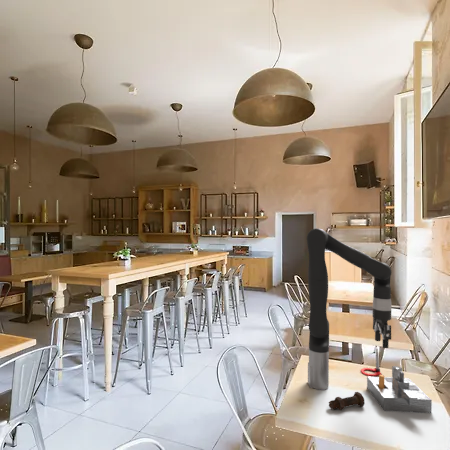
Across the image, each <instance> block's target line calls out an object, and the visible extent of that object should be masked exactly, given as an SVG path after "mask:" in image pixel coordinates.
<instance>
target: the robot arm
mask: <svg viewBox="0 0 450 450" xmlns="http://www.w3.org/2000/svg"><path fill="white" fill-rule="evenodd" d="M306 243H307V244H306V245H307V250H308V251H307V252H308V266H307V267H308V271H307V278H308V279H307V283H308V284H307V287H308V299H309V318H308V319H309V321H308V331H309V336H308V337H309V339H308V362H307V383H308V386H309V388H310V389H311V388H312V389H316V390H318V391H320V390H328V388H329V383H330V381H329V379H330V378H329V377H330V376H329V369H330V368H329V367H330V365H329V362H330V322H329V319H328V315H327V304H328V295H329V274H328V268H327V263H326V258H325V257H326V256H325V255H326V250H327V251H329V252H332V253H334V254H335V255H337V256H338V257H340V258H342V259H343V260H345V261H346V262H348V263H349V264H351V265H352V266H354V267H357V268H359V269H361V270H363V271H365V272H366V273H368V274H370V276H373V282H374V283H373V292H372V293H373V298H372V329H373V331H374V340H375V341H376V342H381V338H382V348H383V349H389V340H392V325H390V324H388V321H391V320H392V290H391V289H392V287H391V276H392V272H393V271H392V269H391V266H390V265H389V264H388V263H386V262H382V261H379V260H377V259H375V258H372V257H371V255H369V254H367V253H365V252H364V251H361V250H359V249H356V248H355V247H352V246H350V245H348V244H346V243H344V242H342V241H341V240H339V239H337V238H335V237H334V236H332V235H331V234H329V232H327V231H325V230H324V229H322V228H319V227H318V228H313V229H310V231H309V232H307V235H306Z"/></svg>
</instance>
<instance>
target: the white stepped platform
mask: <svg viewBox="0 0 450 450" xmlns="http://www.w3.org/2000/svg"><path fill="white" fill-rule="evenodd" d="M404 376H405V372H403V367H401V366H398V365H393V366H392V367H391V376H387V377H385V376H384V389H379V376H366V388H367V390H368V391H369V392H370V395H372V397H373V398H374V400H376V402H377V404H378V405H379V406H380V408H381V409H382V411H384V412H401V413H403V412H404V413H418V414H419V413H421V414H423V413H424V414H432V405H433V404H432V403H433V402H432V398H430V397H429V396H428V395H427V394H426V393H425V392H424V391H423V390H422V389H421V388H420V387H419V386H418V385H417V384H416V383H414V381H412V379H410V378H409V377H404Z"/></svg>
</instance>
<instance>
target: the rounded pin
mask: <svg viewBox="0 0 450 450" xmlns="http://www.w3.org/2000/svg"><path fill="white" fill-rule="evenodd" d="M378 377H379V389H384V377H385V376H384V375H383V374H382V375H378Z"/></svg>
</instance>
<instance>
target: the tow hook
mask: <svg viewBox="0 0 450 450" xmlns="http://www.w3.org/2000/svg"><path fill="white" fill-rule="evenodd" d="M366 371H370V372H373V373H368V372H366ZM360 373H361V374H362V375H364V376H366V377H367V376H371V377H378V376H379V375H383V374H382V372H381V369H380V363H379V349H378V348H376V349H375V367H373V368H370V367H363V368H361V369H360Z"/></svg>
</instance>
